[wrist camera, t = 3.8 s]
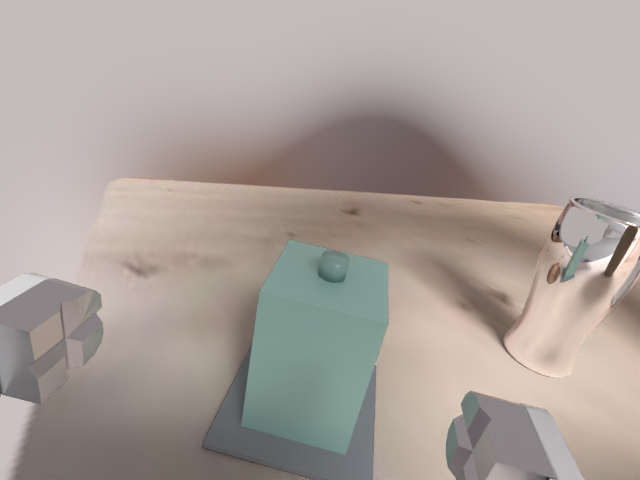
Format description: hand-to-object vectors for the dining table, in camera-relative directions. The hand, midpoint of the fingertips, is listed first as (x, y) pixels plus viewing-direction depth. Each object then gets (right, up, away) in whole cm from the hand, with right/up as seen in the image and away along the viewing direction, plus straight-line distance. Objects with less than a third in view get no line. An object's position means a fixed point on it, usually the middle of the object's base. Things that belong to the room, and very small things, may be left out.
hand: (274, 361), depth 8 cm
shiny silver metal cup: (+22, -9, +28) cm, 36 cm away
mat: (0, -9, +18) cm, 20 cm away
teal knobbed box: (0, -8, +18) cm, 20 cm away
